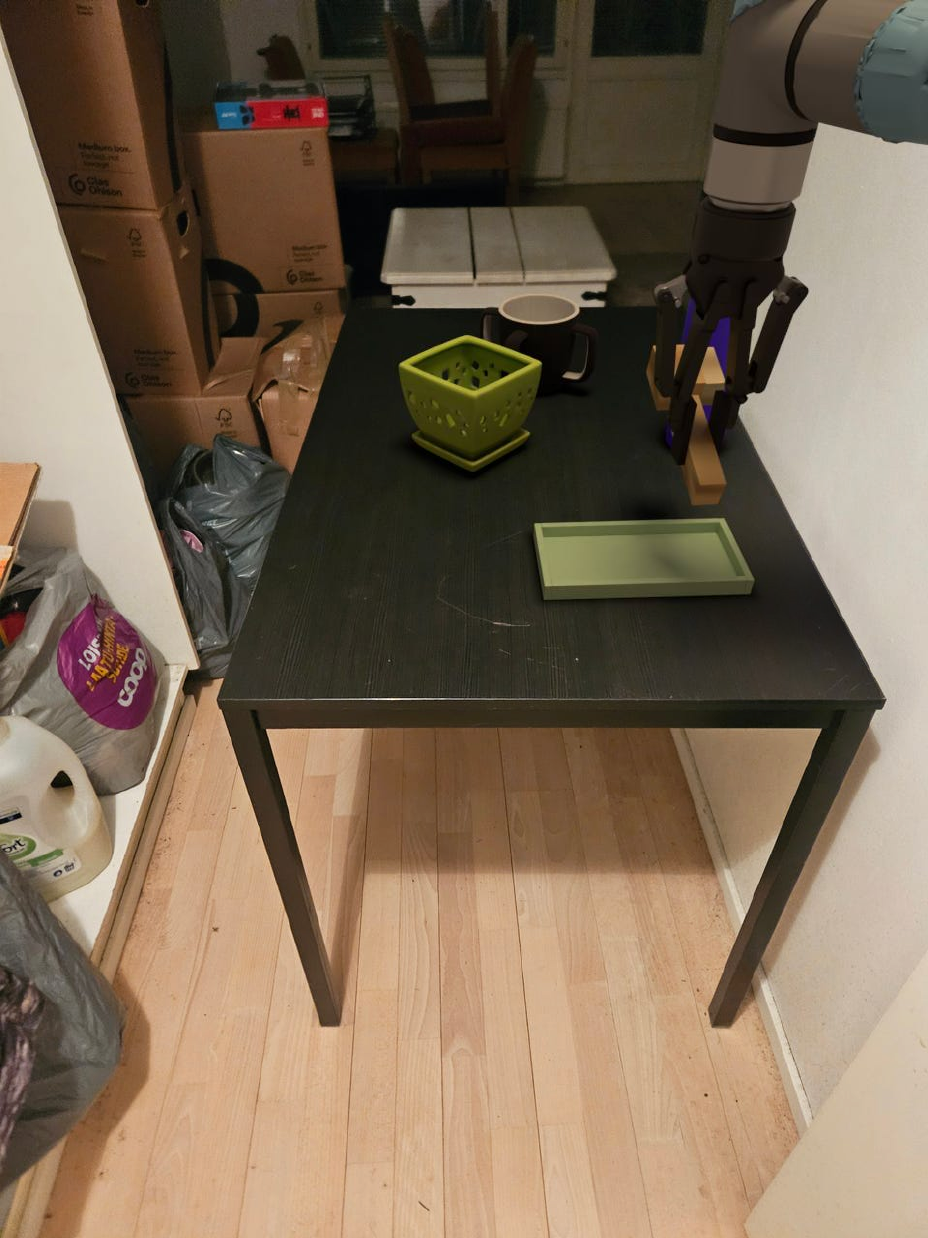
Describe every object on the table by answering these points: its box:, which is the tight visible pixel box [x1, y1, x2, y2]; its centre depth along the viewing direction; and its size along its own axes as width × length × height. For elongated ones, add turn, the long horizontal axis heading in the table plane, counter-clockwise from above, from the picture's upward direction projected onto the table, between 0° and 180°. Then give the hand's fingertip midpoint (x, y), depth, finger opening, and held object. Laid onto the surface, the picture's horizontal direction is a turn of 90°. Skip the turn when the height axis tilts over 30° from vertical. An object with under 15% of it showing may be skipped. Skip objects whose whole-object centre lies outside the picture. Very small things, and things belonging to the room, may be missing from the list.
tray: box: [533, 517, 755, 601], centre depth 87 cm, size 23×12×2 cm, turn 92°
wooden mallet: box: [645, 344, 728, 506], centre depth 78 cm, size 19×7×4 cm, turn 4°
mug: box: [479, 293, 600, 395], centre depth 118 cm, size 16×16×12 cm
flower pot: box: [398, 334, 542, 473], centre depth 103 cm, size 14×14×13 cm
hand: (693, 457), depth 77 cm, fingers closed on wooden mallet, 3 cm apart
